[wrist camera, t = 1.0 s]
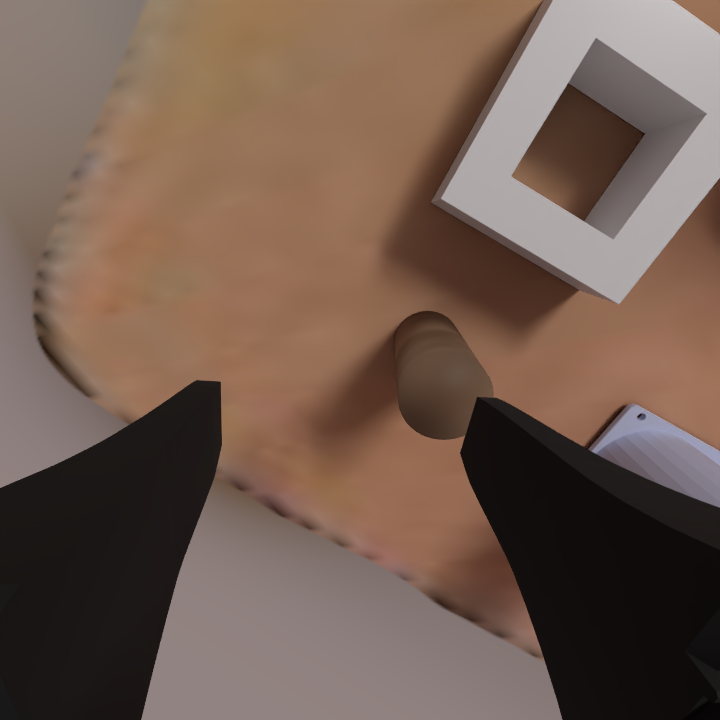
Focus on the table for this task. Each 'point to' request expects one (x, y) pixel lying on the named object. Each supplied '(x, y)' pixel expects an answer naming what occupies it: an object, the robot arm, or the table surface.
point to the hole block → (625, 99)
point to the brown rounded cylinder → (437, 376)
